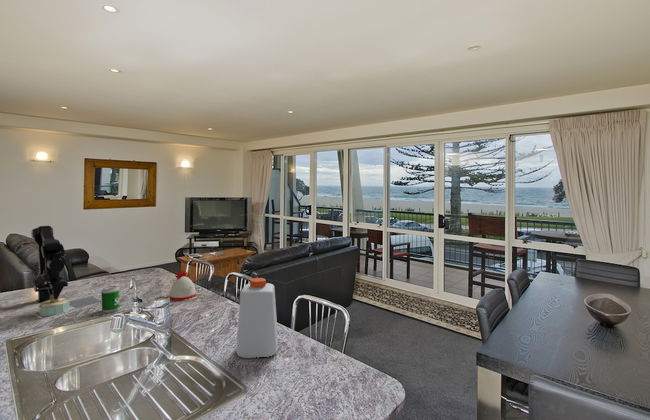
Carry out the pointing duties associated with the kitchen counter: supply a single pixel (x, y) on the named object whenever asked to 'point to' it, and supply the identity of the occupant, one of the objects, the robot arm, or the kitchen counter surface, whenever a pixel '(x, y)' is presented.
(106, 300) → the soda can
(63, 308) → the bowl
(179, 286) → the kitchen timer
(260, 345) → the plastic bottle
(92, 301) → the mat
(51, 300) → the lid
